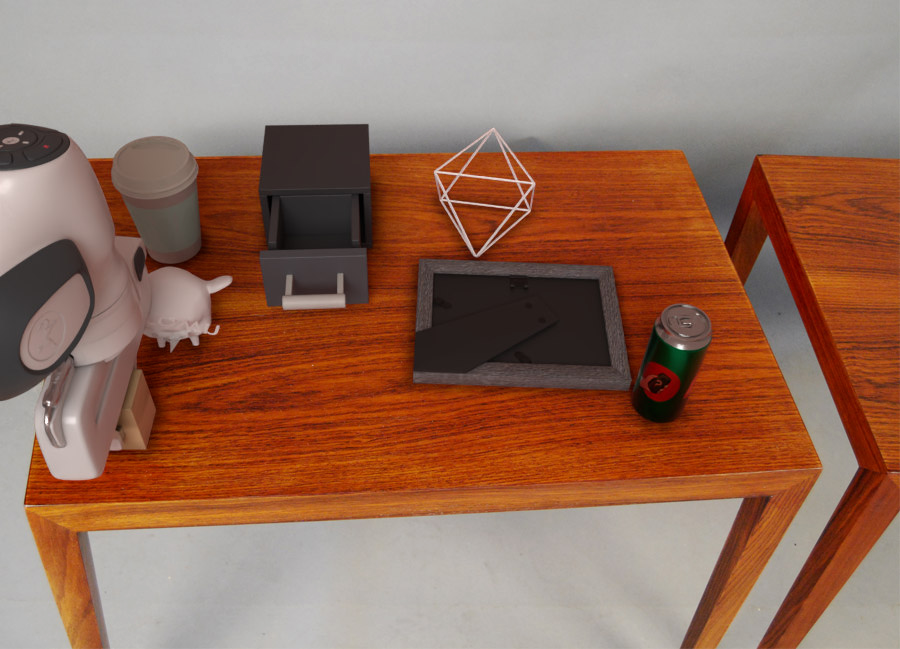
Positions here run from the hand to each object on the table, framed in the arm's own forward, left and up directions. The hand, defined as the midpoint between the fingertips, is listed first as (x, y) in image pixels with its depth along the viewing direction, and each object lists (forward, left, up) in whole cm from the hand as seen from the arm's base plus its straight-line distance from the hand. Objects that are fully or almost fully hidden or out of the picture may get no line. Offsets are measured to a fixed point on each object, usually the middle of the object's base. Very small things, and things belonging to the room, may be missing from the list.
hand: (122, 416), depth 77 cm
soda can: (+34, -36, -2) cm, 50 cm away
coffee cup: (+18, +16, -2) cm, 25 cm away
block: (0, 0, -2) cm, 2 cm away
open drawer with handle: (+24, 0, -1) cm, 24 cm away
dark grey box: (+33, +8, -2) cm, 34 cm away
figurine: (+10, +5, -2) cm, 12 cm away
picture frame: (+34, -19, -2) cm, 39 cm away
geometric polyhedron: (+44, -7, -2) cm, 45 cm away
